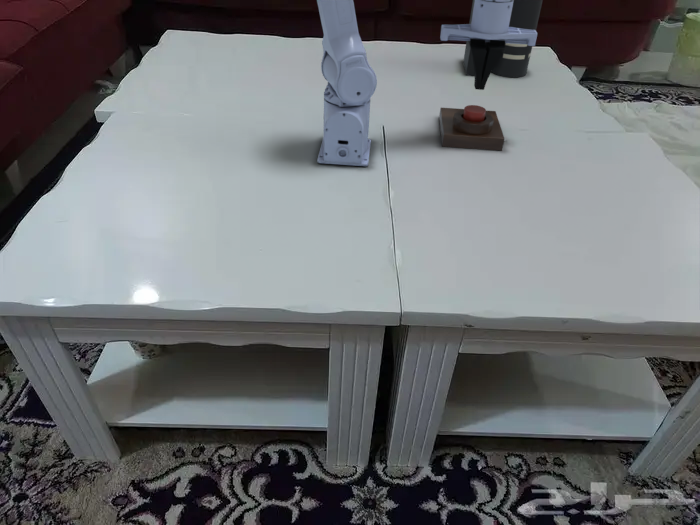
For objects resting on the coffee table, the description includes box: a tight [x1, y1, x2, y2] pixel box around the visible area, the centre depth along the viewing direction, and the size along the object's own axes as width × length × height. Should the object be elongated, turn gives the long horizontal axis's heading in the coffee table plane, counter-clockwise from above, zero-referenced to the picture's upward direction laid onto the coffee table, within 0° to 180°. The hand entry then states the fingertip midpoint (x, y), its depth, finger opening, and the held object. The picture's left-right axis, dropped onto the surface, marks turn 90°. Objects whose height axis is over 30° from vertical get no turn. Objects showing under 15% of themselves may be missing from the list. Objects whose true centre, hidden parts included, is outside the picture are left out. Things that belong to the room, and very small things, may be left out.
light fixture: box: [462, 0, 544, 78], centre depth 124 cm, size 10×14×18 cm
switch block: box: [438, 107, 505, 151], centre depth 100 cm, size 12×10×4 cm
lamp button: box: [463, 104, 487, 122], centre depth 97 cm, size 4×4×2 cm
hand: (479, 87), depth 94 cm, fingers closed
